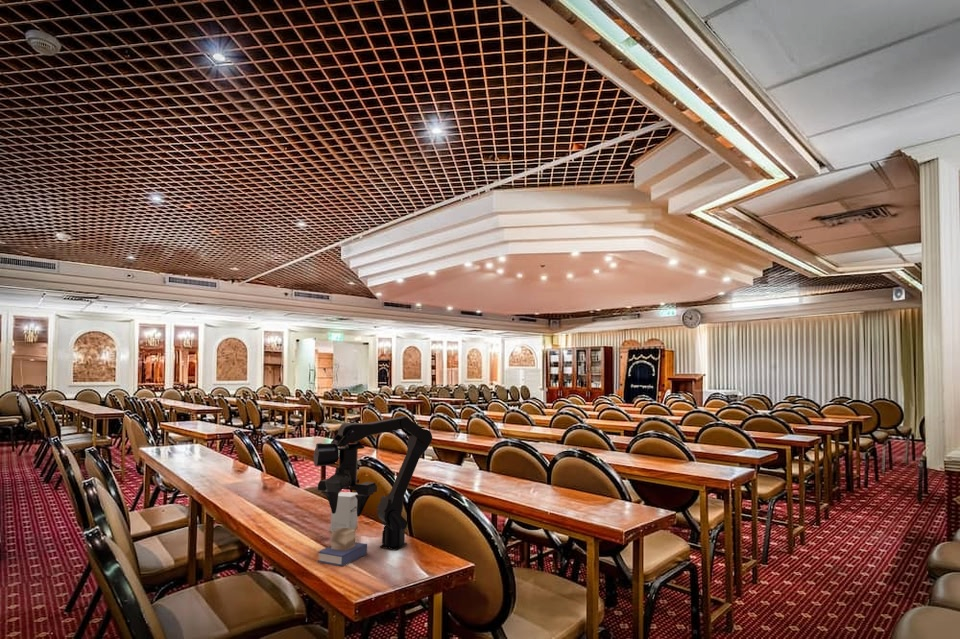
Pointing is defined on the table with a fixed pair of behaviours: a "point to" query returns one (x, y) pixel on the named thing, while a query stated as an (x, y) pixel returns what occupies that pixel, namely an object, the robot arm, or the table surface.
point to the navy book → (342, 555)
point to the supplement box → (345, 512)
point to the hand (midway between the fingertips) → (346, 514)
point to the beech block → (343, 539)
